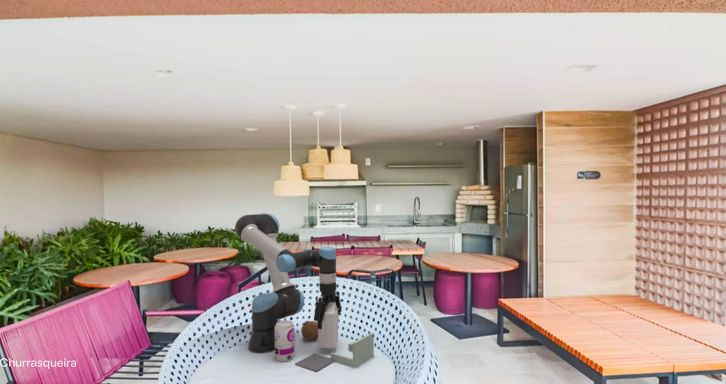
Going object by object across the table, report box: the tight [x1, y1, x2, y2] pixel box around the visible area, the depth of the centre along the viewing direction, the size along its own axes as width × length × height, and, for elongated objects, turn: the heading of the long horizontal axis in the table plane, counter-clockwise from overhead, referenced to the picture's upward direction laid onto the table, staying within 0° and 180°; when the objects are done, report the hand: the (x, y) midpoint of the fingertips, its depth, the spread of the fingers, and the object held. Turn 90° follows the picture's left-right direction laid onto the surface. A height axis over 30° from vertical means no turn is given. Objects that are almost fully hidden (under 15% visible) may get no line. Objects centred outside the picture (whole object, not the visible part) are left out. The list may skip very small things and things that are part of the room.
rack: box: [330, 332, 375, 369], centre depth 162 cm, size 13×13×10 cm
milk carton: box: [317, 302, 339, 349], centre depth 170 cm, size 7×7×19 cm
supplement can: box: [274, 320, 295, 363], centre depth 163 cm, size 8×8×15 cm
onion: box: [301, 320, 318, 341], centre depth 184 cm, size 10×9×10 cm
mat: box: [294, 353, 336, 373], centre depth 158 cm, size 12×12×1 cm
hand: (328, 332), depth 170 cm, fingers closed on milk carton, 9 cm apart
